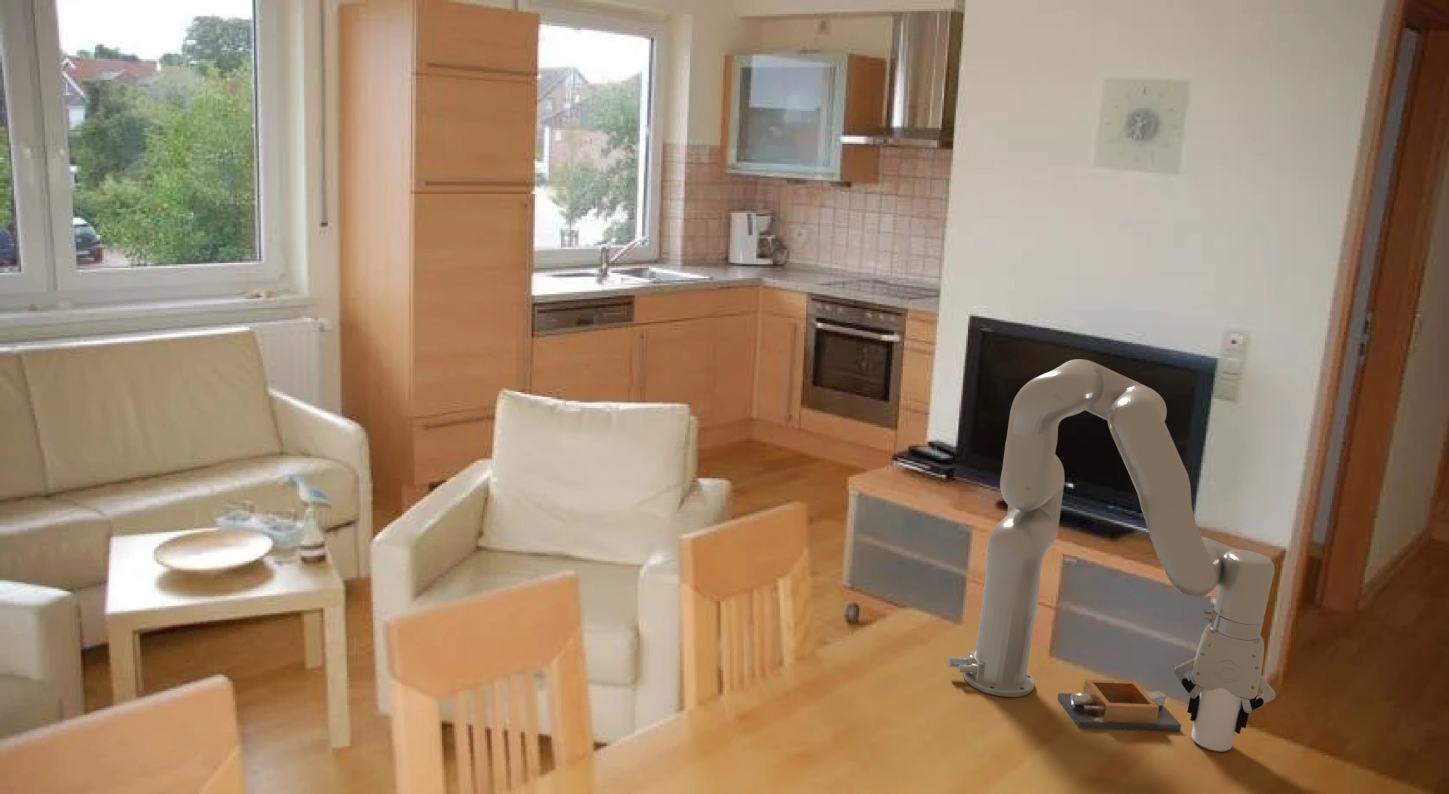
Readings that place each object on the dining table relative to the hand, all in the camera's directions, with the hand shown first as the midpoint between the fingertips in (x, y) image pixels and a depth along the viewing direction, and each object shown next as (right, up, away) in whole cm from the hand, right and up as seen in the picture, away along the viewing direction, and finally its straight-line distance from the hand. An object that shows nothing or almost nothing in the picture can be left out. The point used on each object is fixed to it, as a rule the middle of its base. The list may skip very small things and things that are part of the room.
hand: (1215, 723), depth 196 cm
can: (0, -4, +1) cm, 4 cm away
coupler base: (-14, -1, +8) cm, 16 cm away
